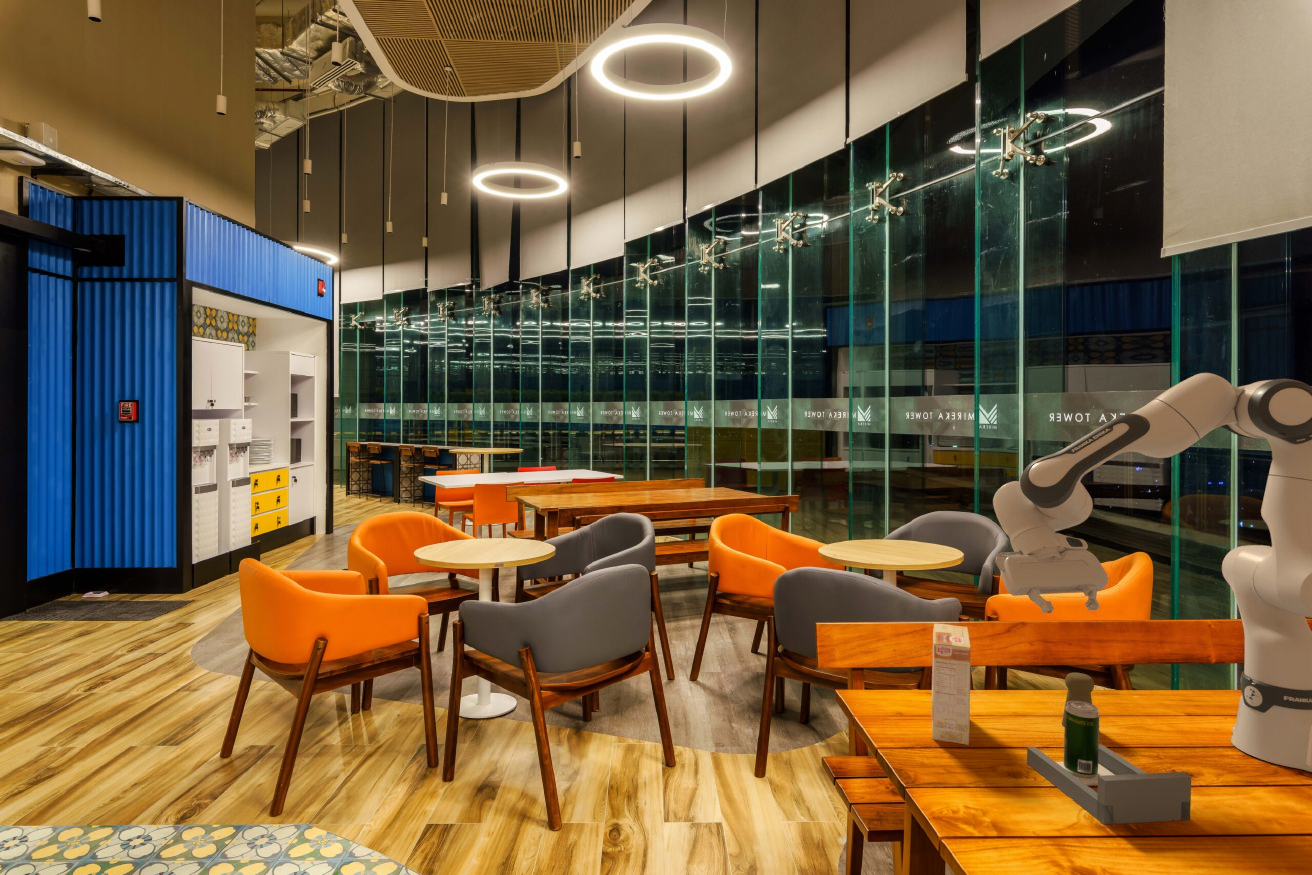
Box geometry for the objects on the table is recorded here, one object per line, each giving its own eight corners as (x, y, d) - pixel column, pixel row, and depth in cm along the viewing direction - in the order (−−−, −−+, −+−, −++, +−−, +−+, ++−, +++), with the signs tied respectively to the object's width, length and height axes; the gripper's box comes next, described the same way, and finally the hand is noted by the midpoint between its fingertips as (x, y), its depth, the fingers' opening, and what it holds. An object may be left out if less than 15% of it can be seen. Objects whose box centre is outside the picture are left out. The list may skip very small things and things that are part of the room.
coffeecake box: (931, 710, 158) (933, 622, 157) (966, 716, 155) (968, 626, 154) (930, 739, 144) (932, 642, 143) (969, 745, 141) (971, 647, 140)
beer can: (1103, 780, 127) (1105, 712, 127) (1071, 778, 128) (1073, 711, 128) (1089, 765, 133) (1090, 700, 132) (1058, 763, 133) (1059, 699, 133)
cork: (1100, 734, 146) (1101, 680, 146) (1067, 731, 148) (1069, 678, 147) (1088, 722, 152) (1090, 670, 152) (1057, 719, 154) (1058, 668, 153)
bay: (1101, 759, 136) (1102, 723, 135) (1190, 819, 116) (1191, 776, 115) (1026, 763, 134) (1027, 726, 134) (1103, 824, 114) (1105, 780, 114)
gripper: (997, 544, 146) (1028, 604, 136) (1092, 539, 148) (1128, 598, 138) (986, 561, 150) (1014, 621, 141) (1077, 557, 152) (1112, 615, 143)
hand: (1071, 610), depth 140 cm, fingers open, 8 cm apart
